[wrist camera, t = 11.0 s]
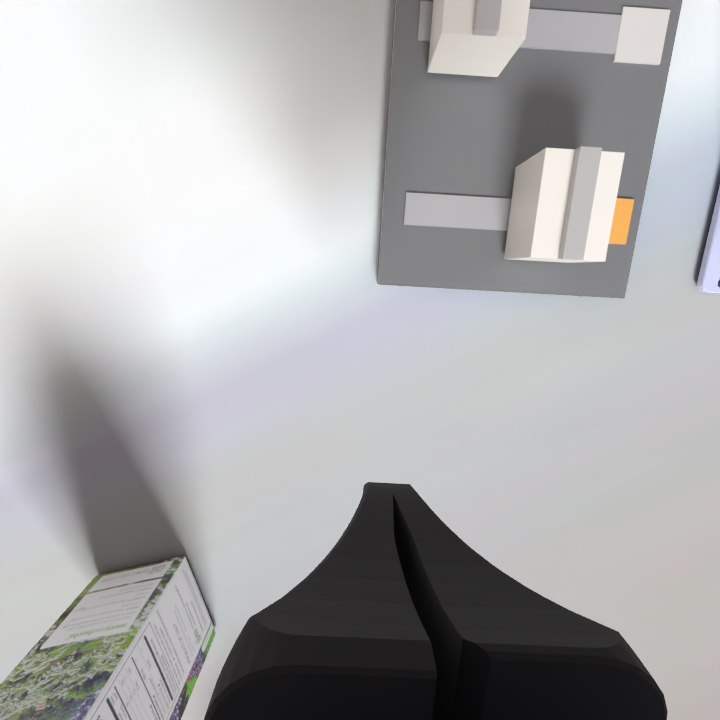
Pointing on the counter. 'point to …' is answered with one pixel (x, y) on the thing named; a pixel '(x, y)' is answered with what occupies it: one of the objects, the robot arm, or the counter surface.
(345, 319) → the counter surface
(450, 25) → the middle slider
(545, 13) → the switch panel
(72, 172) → the counter surface
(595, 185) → the block
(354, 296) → the counter surface
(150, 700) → the syrup box
